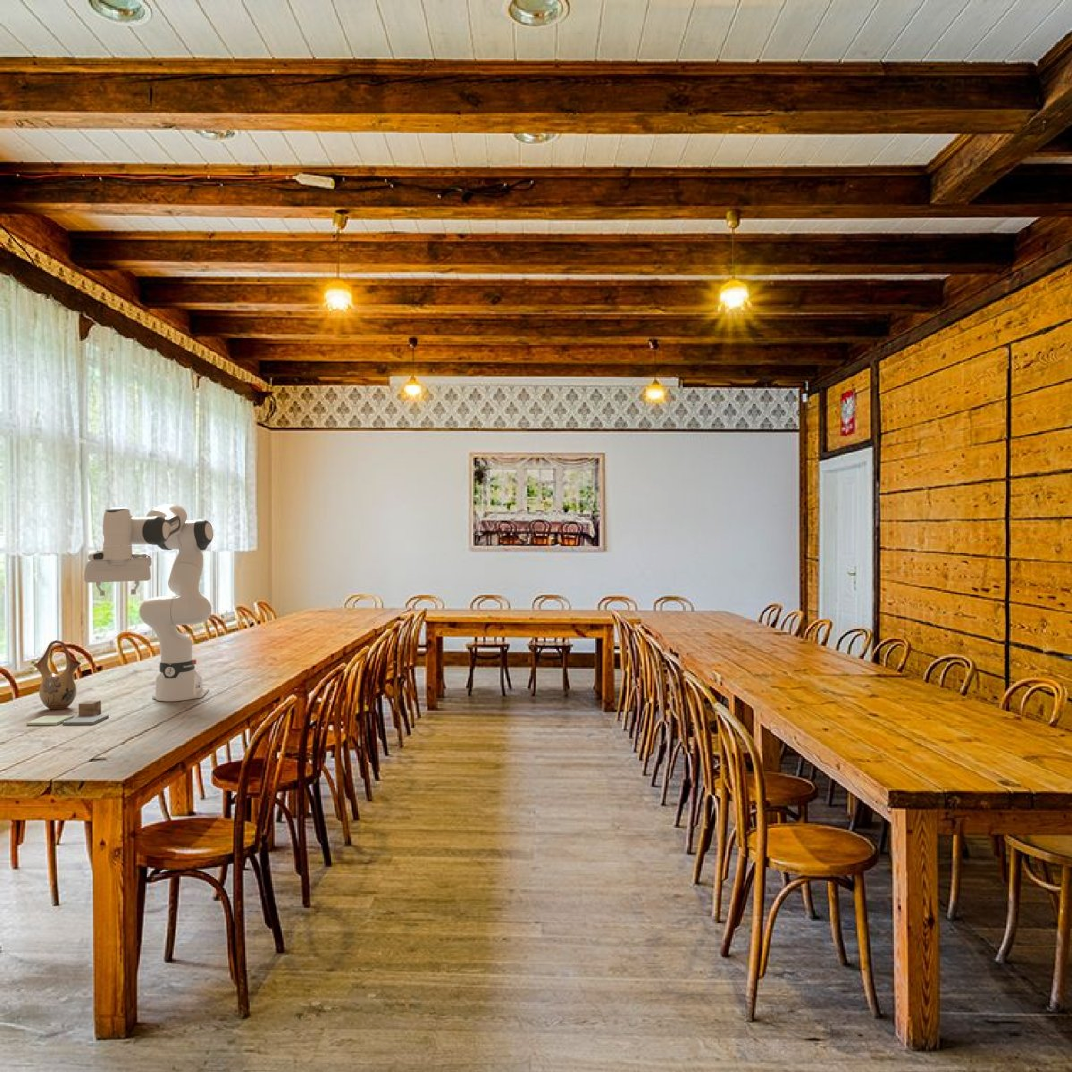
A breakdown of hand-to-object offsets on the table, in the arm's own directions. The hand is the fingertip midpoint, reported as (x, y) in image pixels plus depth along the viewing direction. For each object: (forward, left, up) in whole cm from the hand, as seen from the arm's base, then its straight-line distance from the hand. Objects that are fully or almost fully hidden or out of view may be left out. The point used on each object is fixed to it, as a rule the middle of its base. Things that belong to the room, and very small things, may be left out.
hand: (118, 595), depth 274 cm
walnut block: (-5, -13, -43) cm, 45 cm away
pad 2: (+3, -10, -42) cm, 44 cm away
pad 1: (+3, -22, -42) cm, 48 cm away
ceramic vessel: (-17, -31, -43) cm, 55 cm away
